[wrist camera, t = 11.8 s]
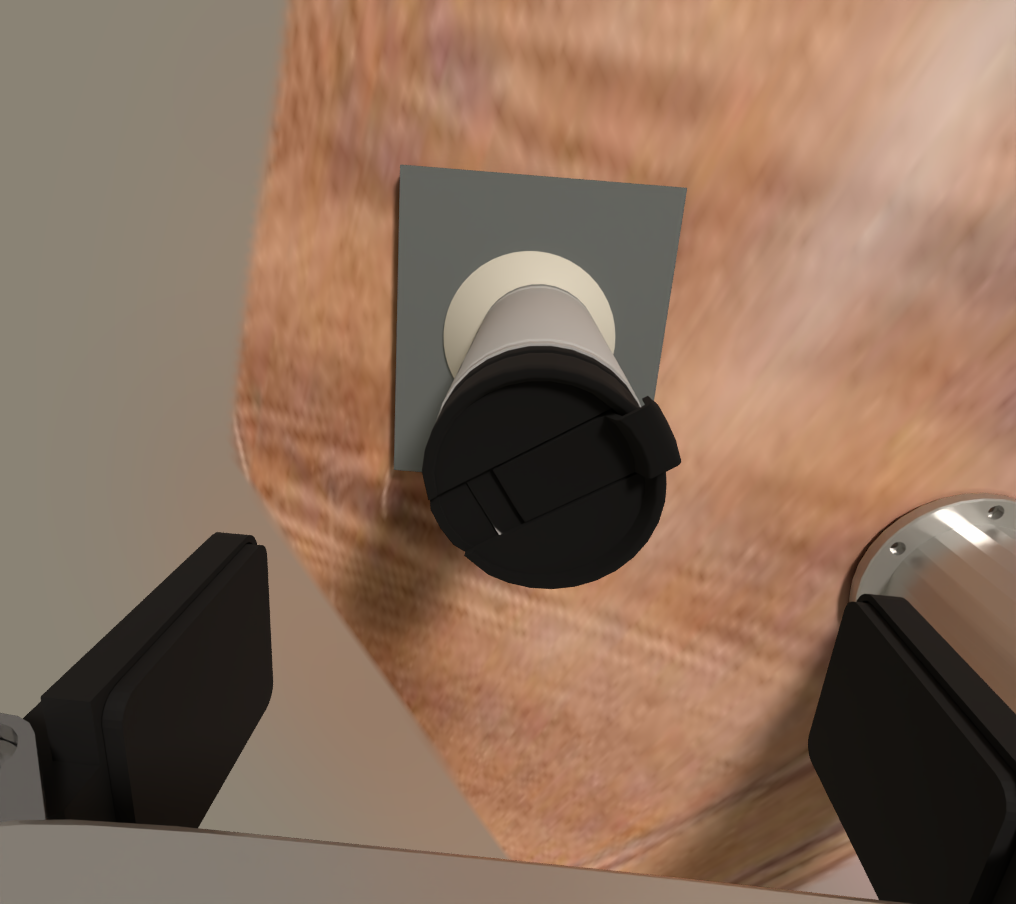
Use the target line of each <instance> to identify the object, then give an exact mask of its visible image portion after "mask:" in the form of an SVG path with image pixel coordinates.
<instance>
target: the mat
mask: <svg viewBox="0 0 1016 904" xmlns="http://www.w3.org/2000/svg"><path fill="white" fill-rule="evenodd" d="M686 192H687V188H681V187H669V186H657V185H644V184H632V183H620V182H607V181H595V180H583V179H571V178H558V177H546V176H534V175H522V174H509V173H497V172H485V171H472V170H460V169H448V168H436V167H423V166H411V165H400V199H399V248H398V297H397V346H396V395H395V444H394V470H403V471H415V472H422V466H423V459H424V451H425V448H426V445H427V442H428V439H429V437H430V434H431V431H432V429H433V427H434V425H435V423H436V420H437V417H438V414H439V412H440V409H441V406H442V403H443V401H444V399H445V397H446V395H447V393H448V391H449V389H450V387H451V385H452V383H453V381H454V379H455V377H456V374H457V372H458V370H459V368H460V366H461V364H462V362H463V360H464V358H465V356H466V354H467V352H468V350H469V348H470V346H471V344H472V342H473V340H474V338H475V336H476V333H477V331H478V329H479V327H480V325H481V323H482V321H483V319H484V317H485V316H486V314H487V312H488V311H489V309H490V308H491V307H492V305H493V304H494V303H495V302H496V301H497V300H498V299H499V298H501V297H502V296H503V295H505V294H506V293H508V292H509V291H512V290H514V289H516V288H518V287H522V286H526V285H531V284H546V285H551V286H556V287H558V288H561V289H563V290H566V291H568V292H569V293H571V294H572V295H574V296H575V297H577V298H578V299H579V300H580V301H581V302H582V303H583V304H584V305H585V307H586V308H587V310H588V311H589V313H590V314H591V316H592V318H593V319H594V321H595V323H596V325H597V327H598V328H599V330H600V332H601V334H602V336H603V337H604V339H605V341H606V343H607V344H608V346H609V348H610V350H611V352H612V353H613V355H614V357H615V359H616V361H617V362H618V364H619V366H620V368H621V370H622V371H623V373H624V375H625V377H626V378H627V380H628V382H629V384H630V386H631V387H632V389H633V391H634V393H635V395H636V396H637V398H638V400H639V402H640V405H641V407H642V406H643V405H645V404H644V402H643V400H642V398H644V397H646V396H649V397H650V398H651V399H652V400H653V401H654V397H655V390H656V384H657V377H658V371H659V365H660V358H661V352H662V345H663V339H664V333H665V326H666V320H667V314H668V307H669V301H670V294H671V288H672V282H673V275H674V269H675V262H676V256H677V250H678V243H679V237H680V230H681V224H682V218H683V211H684V205H685V199H686Z"/></svg>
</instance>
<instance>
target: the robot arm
mask: <svg viewBox="0 0 1016 904" xmlns="http://www.w3.org/2000/svg"><path fill="white" fill-rule="evenodd" d="M268 587H269V586H268V566H267V552H266V548H265V547H264V546H263V545H257V542H256V540H255V538H254V537H253V536H252V535H242V534H230V533H221V532H216V533H215V534H213V535H212V536H211V537H210V538H209V539H207V540H206V541H205V542H204V543H203V544H202V545H201V546H200V547H199V548H198V549H197V550H196V551H195V552H194V553H193V554H192V555H190V557H189V558H187V559H186V560H185V561H184V562H183V563H182V564H181V565H180V566H179V567H178V568H177V569H176V570H175V571H173V572H172V573H171V574H170V575H169V576H168V577H167V578H166V579H165V580H164V581H163V582H162V583H161V584H160V585H159V586H158V587H157V588H155V589H154V590H153V591H152V592H151V593H150V594H149V595H148V596H147V597H146V598H145V599H144V600H143V601H142V602H141V603H140V604H139V605H138V606H136V607H135V608H134V609H133V610H132V611H131V612H130V613H129V614H128V615H127V616H126V617H125V618H124V619H123V620H122V621H120V622H119V623H118V624H117V625H116V626H115V627H114V628H113V629H112V630H111V631H110V632H109V633H108V634H107V635H106V636H105V637H103V638H102V639H101V640H100V641H99V642H98V643H97V644H96V645H95V646H94V647H93V648H92V649H91V650H90V651H89V652H88V653H86V654H85V655H84V656H83V657H82V658H81V659H80V660H79V661H78V662H77V663H76V664H75V665H74V666H73V667H72V668H71V669H69V670H68V671H67V672H66V673H65V674H64V675H63V676H62V677H61V678H60V679H59V680H58V681H57V682H56V683H55V684H54V685H52V686H51V687H50V688H49V689H48V690H47V691H46V692H45V693H44V694H43V695H42V696H41V702H40V703H39V704H38V705H37V706H36V707H35V708H33V710H31V711H30V712H29V713H28V714H27V715H26V716H25V717H24V718H23V719H22V718H20V717H19V716H15V715H9V714H4V713H0V904H1016V499H1015V498H1012V497H1009V496H1006V495H998V494H990V493H971V494H960V495H955V496H951V497H946V498H941V499H939V500H936V501H933V502H931V503H928V504H925V505H923V506H920V507H918V508H917V509H915V510H913V511H911V512H910V513H908V514H906V515H904V516H903V517H901V518H900V519H898V520H897V521H896V522H894V523H893V524H892V525H891V526H889V527H888V528H887V529H886V530H884V531H883V532H882V533H881V535H880V536H879V537H878V538H877V539H876V540H875V541H874V542H873V543H872V544H871V545H870V547H869V548H868V550H867V551H866V553H865V555H864V556H863V558H862V559H861V561H860V562H859V565H858V567H857V569H856V572H855V574H854V577H853V579H852V584H851V590H850V596H849V603H848V604H847V606H846V608H845V610H844V614H843V617H842V621H841V624H840V628H839V631H838V635H837V638H836V642H835V645H834V649H833V652H832V656H831V660H830V663H829V667H828V670H827V674H826V677H825V681H824V684H823V688H822V691H821V695H820V698H819V702H818V706H817V709H816V713H815V716H814V720H813V723H812V727H811V730H810V734H809V739H808V750H809V756H810V759H811V762H812V764H813V766H814V768H815V770H816V772H817V774H818V776H819V778H820V780H821V782H822V785H823V787H824V789H825V791H826V793H827V795H828V797H829V799H830V801H831V803H832V805H833V807H834V809H835V811H836V813H837V815H838V817H839V819H840V821H841V823H842V825H843V827H844V829H845V831H846V833H847V835H848V837H849V839H850V841H851V844H852V846H853V848H854V850H855V852H856V854H857V856H858V858H859V860H860V862H861V864H862V866H863V867H864V870H865V872H866V874H867V876H868V878H869V880H870V882H871V884H872V886H873V888H874V890H875V892H876V894H877V896H878V898H879V900H873V899H864V898H856V897H847V896H838V895H829V894H820V893H812V892H803V891H794V890H785V889H776V888H767V887H758V886H749V885H740V884H731V883H722V882H714V881H705V880H695V879H686V878H677V877H667V876H658V875H649V874H639V873H630V872H621V871H611V870H602V869H593V868H583V867H574V866H564V865H555V864H545V863H536V862H526V861H517V860H507V859H498V858H487V857H478V856H469V855H459V854H449V853H439V852H429V851H419V850H409V849H399V848H389V847H379V846H368V845H359V844H349V843H339V842H329V841H319V840H309V839H299V838H289V837H279V836H268V835H259V834H249V833H239V832H229V831H219V830H208V829H199V828H198V827H199V825H200V823H201V822H202V820H203V818H204V817H205V815H206V813H207V811H208V809H209V808H210V806H211V804H212V803H213V801H214V799H215V797H216V795H217V794H218V792H219V790H220V789H221V787H222V785H223V783H224V782H225V780H226V778H227V776H228V775H229V773H230V771H231V769H232V768H233V766H234V764H235V762H236V761H237V759H238V757H239V755H240V754H241V752H242V750H243V748H244V747H245V745H246V743H247V741H248V740H249V738H250V736H251V734H252V733H253V731H254V729H255V727H256V726H257V724H258V722H259V720H260V719H261V717H262V715H263V714H264V712H265V710H266V708H267V706H268V704H269V701H270V698H271V694H272V689H273V671H272V651H271V650H272V649H271V630H270V607H269V588H268Z"/></svg>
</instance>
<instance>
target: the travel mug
mask: <svg viewBox="0 0 1016 904" xmlns="http://www.w3.org/2000/svg"><path fill="white" fill-rule="evenodd" d="M642 400H643V402H644V404H645V405H643V406H642V407H641V405H640V402H639V400H638V398H637V396H636V395H635V393H634V391H633V389H632V387H631V386H630V384H629V382H628V380H627V378H626V377H625V375H624V373H623V371H622V370H621V368H620V366H619V364H618V362H617V361H616V359H615V357H614V355H613V353H612V352H611V350H610V348H609V346H608V344H607V343H606V341H605V339H604V337H603V336H602V334H601V332H600V330H599V328H598V327H597V325H596V323H595V321H594V319H593V318H592V316H591V314H590V313H589V311H588V310H587V308H586V307H585V305H584V304H583V303H582V302H581V301H580V300H579V299H578V298H577V297H575V296H574V295H572V294H571V293H569V292H568V291H566V290H563V289H561V288H558V287H556V286H551V285H546V284H531V285H526V286H522V287H518V288H516V289H514V290H512V291H509V292H508V293H506V294H505V295H503V296H502V297H501V298H499V299H498V300H497V301H496V302H495V303H494V304H493V305H492V307H491V308H490V309H489V311H488V312H487V314H486V316H485V317H484V319H483V321H482V323H481V325H480V327H479V329H478V331H477V333H476V336H475V338H474V340H473V342H472V344H471V346H470V348H469V350H468V352H467V354H466V356H465V358H464V360H463V362H462V364H461V366H460V368H459V370H458V372H457V374H456V377H455V379H454V381H453V383H452V385H451V387H450V389H449V391H448V393H447V395H446V397H445V399H444V401H443V403H442V406H441V409H440V412H439V414H438V417H437V420H436V423H435V425H434V427H433V429H432V431H431V434H430V437H429V439H428V442H427V445H426V448H425V451H424V459H423V466H422V474H423V478H424V482H425V487H426V491H427V495H428V500H430V506H431V511H432V513H433V515H434V517H435V519H436V521H437V522H438V524H439V526H440V528H441V529H442V531H443V532H444V533H445V535H446V536H447V537H448V538H449V540H450V541H451V542H452V543H453V545H455V546H456V547H458V548H460V549H461V550H463V551H465V555H464V556H466V557H467V558H468V559H469V560H471V561H472V562H473V563H474V564H476V565H477V566H478V567H479V568H480V569H482V570H483V571H484V572H485V573H487V574H488V575H490V576H493V577H495V578H498V579H500V580H503V581H505V582H508V583H511V584H516V585H520V586H525V587H529V588H544V589H557V588H567V587H575V586H579V585H582V584H586V583H589V582H593V581H596V580H598V579H600V578H602V577H604V576H606V575H608V574H610V573H612V572H614V571H616V570H618V569H619V568H620V567H622V566H623V565H624V564H625V563H627V562H628V561H629V560H631V559H632V558H633V557H634V556H635V555H636V554H637V553H638V552H639V551H640V550H641V548H642V547H643V546H644V545H645V544H646V543H647V542H648V540H649V538H650V537H651V535H652V533H653V531H654V530H655V528H656V526H657V524H658V523H659V520H660V516H661V513H662V510H663V507H664V503H665V497H666V471H668V470H670V469H672V468H674V467H676V466H678V465H679V464H680V463H681V458H680V455H679V451H678V447H677V443H676V440H675V437H674V435H673V433H672V431H671V428H670V426H669V424H668V422H667V420H666V418H665V417H664V415H663V413H662V411H661V409H660V407H659V406H658V404H657V403H655V402H654V401H653V400H652V399H651V398H650V397H649V396H646V397H644V398H642Z"/></svg>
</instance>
